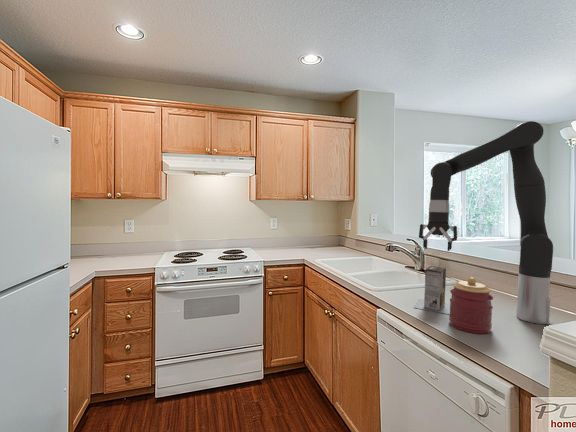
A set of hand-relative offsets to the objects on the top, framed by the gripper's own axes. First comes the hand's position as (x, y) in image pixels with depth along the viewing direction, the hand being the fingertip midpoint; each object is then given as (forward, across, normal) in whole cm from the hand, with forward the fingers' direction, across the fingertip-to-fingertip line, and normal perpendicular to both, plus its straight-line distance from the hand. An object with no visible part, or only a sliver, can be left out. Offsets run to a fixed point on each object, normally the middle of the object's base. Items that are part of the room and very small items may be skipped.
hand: (436, 249), depth 124 cm
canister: (+24, -13, +16) cm, 32 cm away
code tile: (+24, 0, 0) cm, 24 cm away
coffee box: (+24, 0, 0) cm, 24 cm away
